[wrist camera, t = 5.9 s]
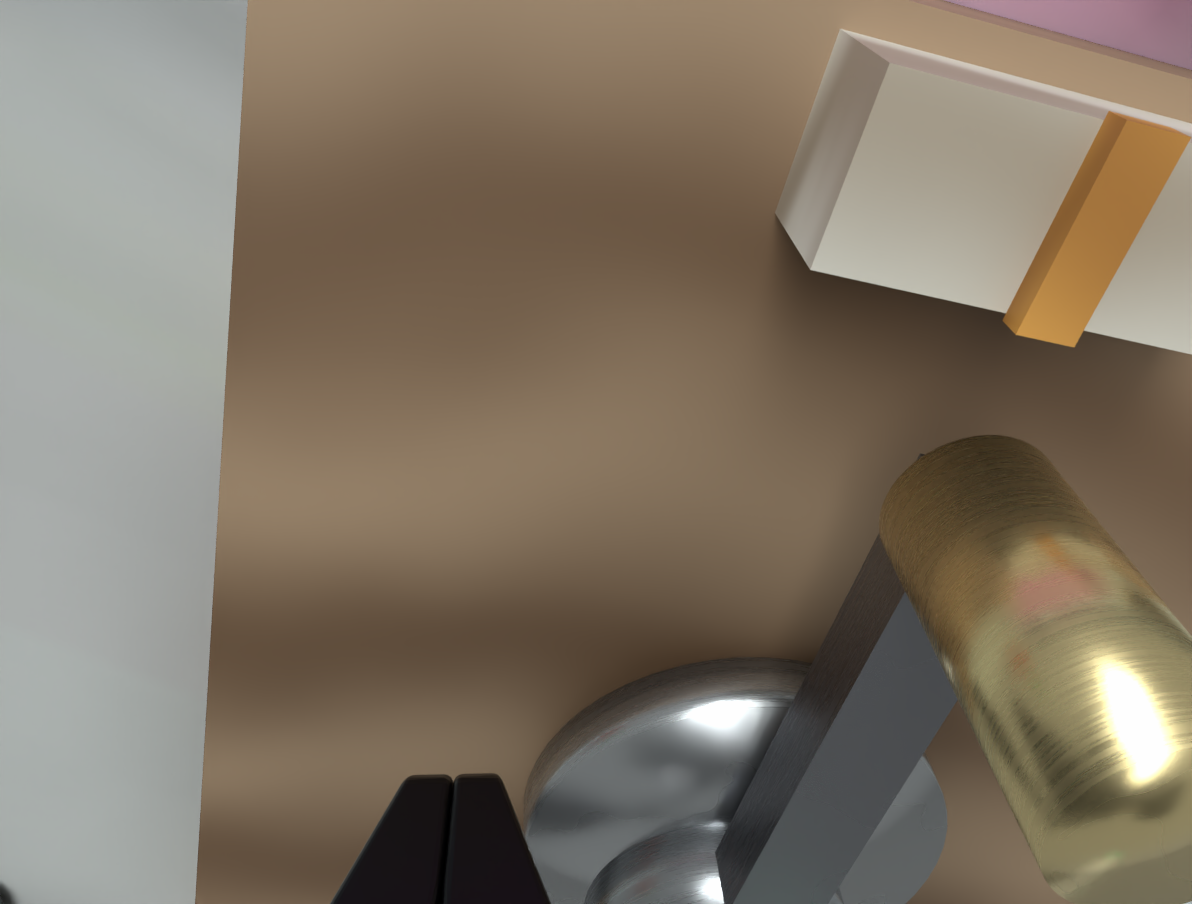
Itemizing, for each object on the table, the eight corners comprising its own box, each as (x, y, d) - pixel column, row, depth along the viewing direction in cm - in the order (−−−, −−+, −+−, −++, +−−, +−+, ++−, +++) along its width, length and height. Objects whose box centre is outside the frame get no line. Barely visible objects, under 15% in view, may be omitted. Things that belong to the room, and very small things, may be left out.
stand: (939, 988, 28) (1000, 1164, 25) (212, 926, 25) (156, 1121, 21) (1564, 175, 16) (1876, 284, 12) (294, -182, 12) (196, -181, 9)
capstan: (834, 937, 22) (947, 1350, 16) (486, 902, 21) (470, 1342, 15) (1183, 409, 15) (1615, 802, 9) (689, 299, 14) (816, 679, 8)
